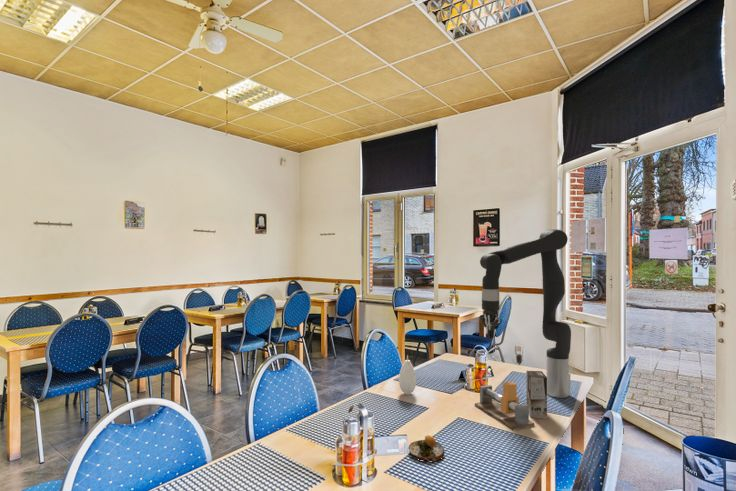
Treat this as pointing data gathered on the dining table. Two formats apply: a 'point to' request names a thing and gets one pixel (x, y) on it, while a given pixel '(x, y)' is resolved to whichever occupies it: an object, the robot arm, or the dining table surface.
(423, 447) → the bowl of food
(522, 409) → the pipe
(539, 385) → the coffee box
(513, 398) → the collar
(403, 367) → the white teardrop vase
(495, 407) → the base board
